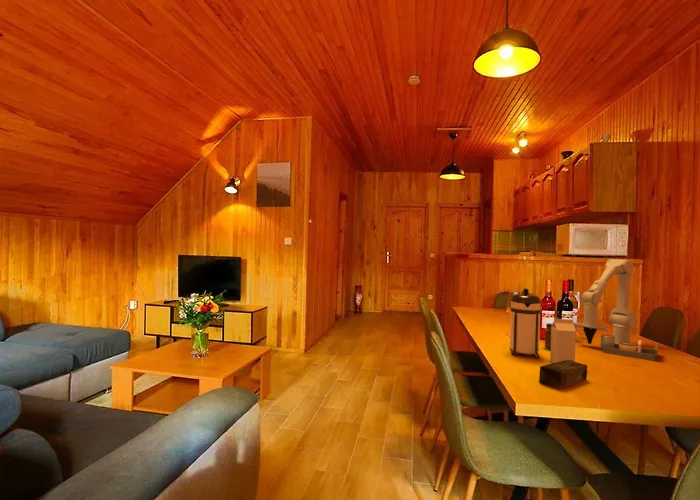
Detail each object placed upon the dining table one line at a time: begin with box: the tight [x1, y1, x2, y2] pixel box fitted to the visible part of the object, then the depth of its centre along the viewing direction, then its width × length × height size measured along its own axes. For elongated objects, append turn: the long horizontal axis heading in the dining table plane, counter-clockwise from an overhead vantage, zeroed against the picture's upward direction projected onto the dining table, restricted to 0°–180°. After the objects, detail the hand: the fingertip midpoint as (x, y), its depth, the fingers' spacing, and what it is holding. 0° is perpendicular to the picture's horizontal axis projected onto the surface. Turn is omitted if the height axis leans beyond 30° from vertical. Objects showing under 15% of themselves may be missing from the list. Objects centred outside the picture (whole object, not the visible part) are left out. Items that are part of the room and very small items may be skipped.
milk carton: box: [549, 318, 577, 363], centre depth 156 cm, size 7×7×19 cm
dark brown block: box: [538, 360, 588, 390], centre depth 136 cm, size 8×19×7 cm, turn 123°
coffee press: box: [509, 288, 542, 359], centre depth 172 cm, size 17×16×30 cm
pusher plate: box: [637, 339, 643, 353], centre depth 173 cm, size 10×1×6 cm, turn 140°
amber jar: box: [619, 341, 638, 352], centre depth 176 cm, size 7×7×5 cm
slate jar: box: [600, 333, 615, 352], centre depth 181 cm, size 6×6×7 cm
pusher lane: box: [603, 343, 659, 362], centre depth 175 cm, size 13×20×5 cm, turn 50°
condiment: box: [541, 322, 553, 351], centre depth 180 cm, size 7×8×12 cm
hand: (589, 343), depth 186 cm, fingers closed
